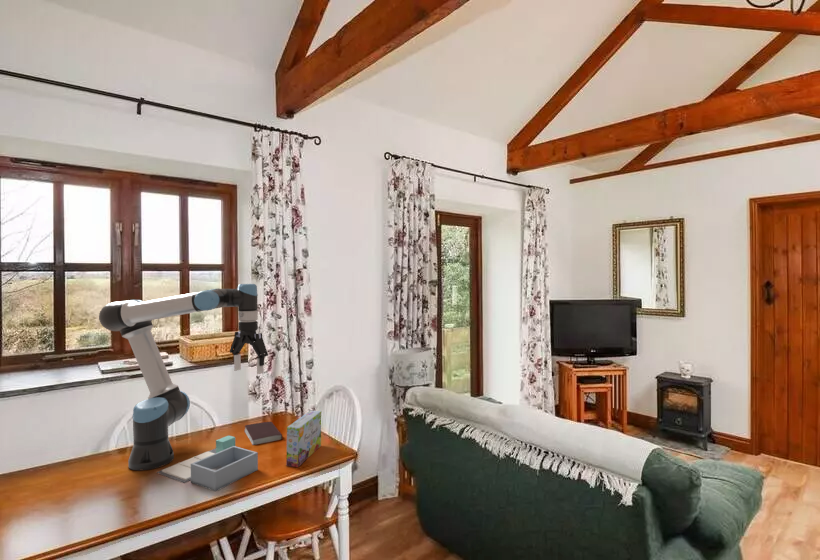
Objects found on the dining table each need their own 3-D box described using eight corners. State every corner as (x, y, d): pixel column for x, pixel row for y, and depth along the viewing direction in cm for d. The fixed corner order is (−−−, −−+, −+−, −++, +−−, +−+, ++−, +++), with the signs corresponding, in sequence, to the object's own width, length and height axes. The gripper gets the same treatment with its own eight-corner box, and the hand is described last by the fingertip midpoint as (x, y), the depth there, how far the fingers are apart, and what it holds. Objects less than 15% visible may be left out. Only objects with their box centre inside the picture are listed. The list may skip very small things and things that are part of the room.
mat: (156, 473, 160) (156, 472, 160) (218, 447, 182) (218, 447, 182) (184, 483, 152) (184, 482, 152) (245, 455, 175) (245, 454, 175)
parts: (201, 478, 154) (200, 472, 154) (233, 463, 166) (233, 458, 166) (218, 484, 149) (218, 478, 149) (250, 468, 161) (250, 463, 161)
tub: (190, 482, 152) (190, 463, 152) (234, 462, 168) (233, 445, 168) (215, 491, 146) (215, 472, 146) (257, 469, 162) (257, 452, 162)
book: (272, 427, 208) (271, 420, 208) (282, 440, 191) (282, 433, 191) (244, 432, 201) (244, 425, 201) (252, 446, 185) (252, 438, 185)
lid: (161, 471, 160) (161, 455, 160) (220, 447, 182) (220, 433, 182) (185, 480, 153) (185, 463, 153) (243, 454, 175) (243, 439, 175)
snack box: (299, 468, 164) (299, 428, 163) (285, 466, 165) (285, 426, 164) (322, 445, 184) (321, 410, 184) (309, 444, 185) (309, 409, 185)
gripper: (220, 320, 184) (221, 370, 185) (262, 323, 172) (262, 377, 173) (235, 318, 191) (235, 366, 191) (276, 321, 179) (277, 373, 179)
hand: (248, 371), depth 182 cm, fingers open, 13 cm apart
